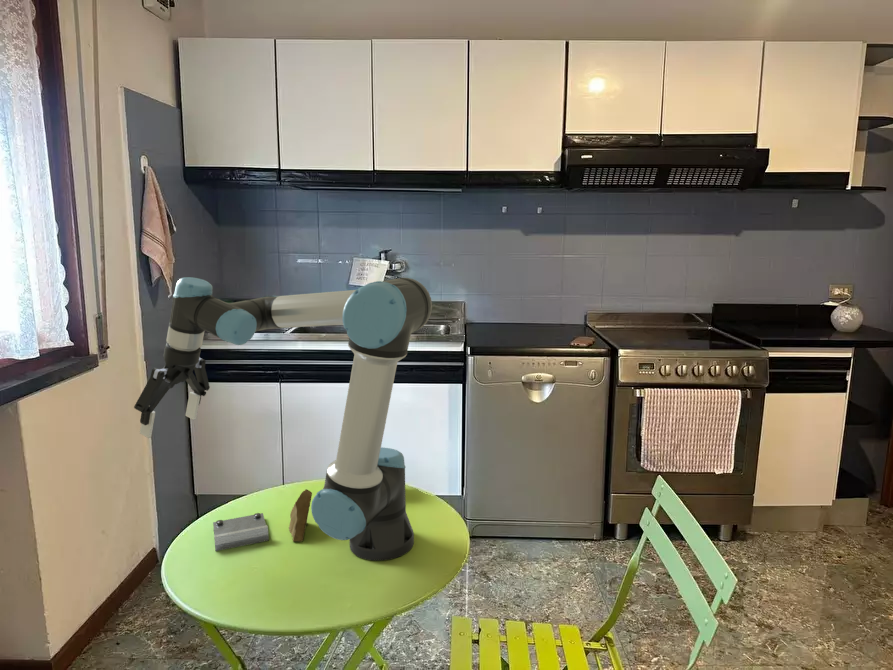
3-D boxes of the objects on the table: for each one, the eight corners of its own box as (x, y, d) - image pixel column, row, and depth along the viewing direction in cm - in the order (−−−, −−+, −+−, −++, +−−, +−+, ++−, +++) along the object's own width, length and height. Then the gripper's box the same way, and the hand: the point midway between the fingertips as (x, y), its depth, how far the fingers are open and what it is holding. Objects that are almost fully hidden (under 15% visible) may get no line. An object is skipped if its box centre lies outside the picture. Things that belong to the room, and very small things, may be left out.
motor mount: (268, 540, 144) (267, 526, 144) (215, 551, 140) (214, 537, 139) (263, 518, 155) (262, 505, 155) (213, 527, 151) (212, 514, 150)
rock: (310, 537, 141) (330, 512, 150) (287, 509, 141) (308, 486, 150) (281, 555, 146) (302, 530, 155) (259, 528, 145) (281, 504, 154)
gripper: (210, 329, 149) (196, 404, 155) (124, 349, 126) (111, 436, 132) (234, 340, 147) (218, 416, 153) (151, 362, 124) (136, 450, 130)
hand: (168, 426), depth 143 cm, fingers open, 13 cm apart
